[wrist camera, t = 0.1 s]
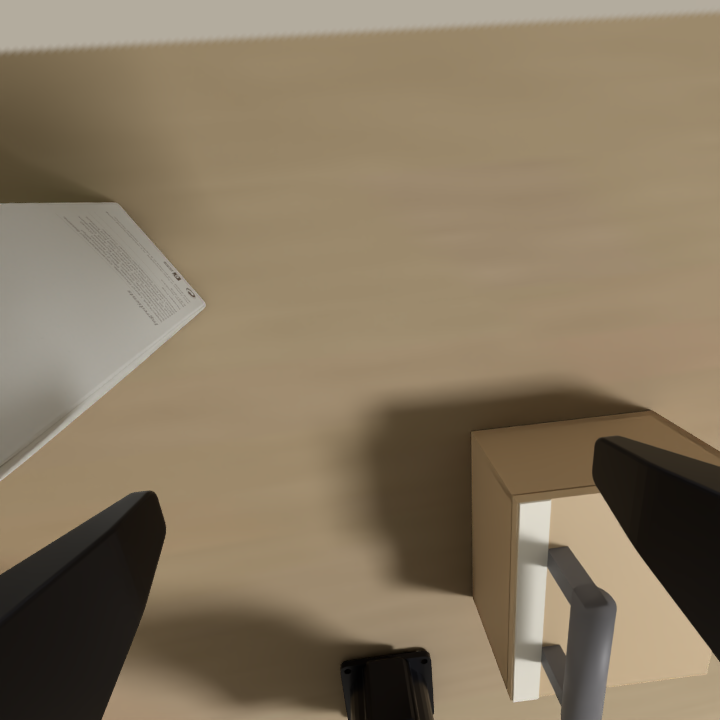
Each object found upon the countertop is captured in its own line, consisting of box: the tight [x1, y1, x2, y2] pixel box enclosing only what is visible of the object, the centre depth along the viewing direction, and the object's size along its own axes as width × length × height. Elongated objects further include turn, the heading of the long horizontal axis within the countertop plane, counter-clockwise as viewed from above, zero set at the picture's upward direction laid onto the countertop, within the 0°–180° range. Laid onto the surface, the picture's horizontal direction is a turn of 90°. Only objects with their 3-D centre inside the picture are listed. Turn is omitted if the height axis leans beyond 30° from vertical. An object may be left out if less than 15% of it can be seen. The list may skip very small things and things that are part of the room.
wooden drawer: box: [471, 410, 720, 689], centre depth 25 cm, size 13×11×6 cm
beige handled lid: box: [507, 486, 712, 720], centre depth 20 cm, size 13×11×4 cm
